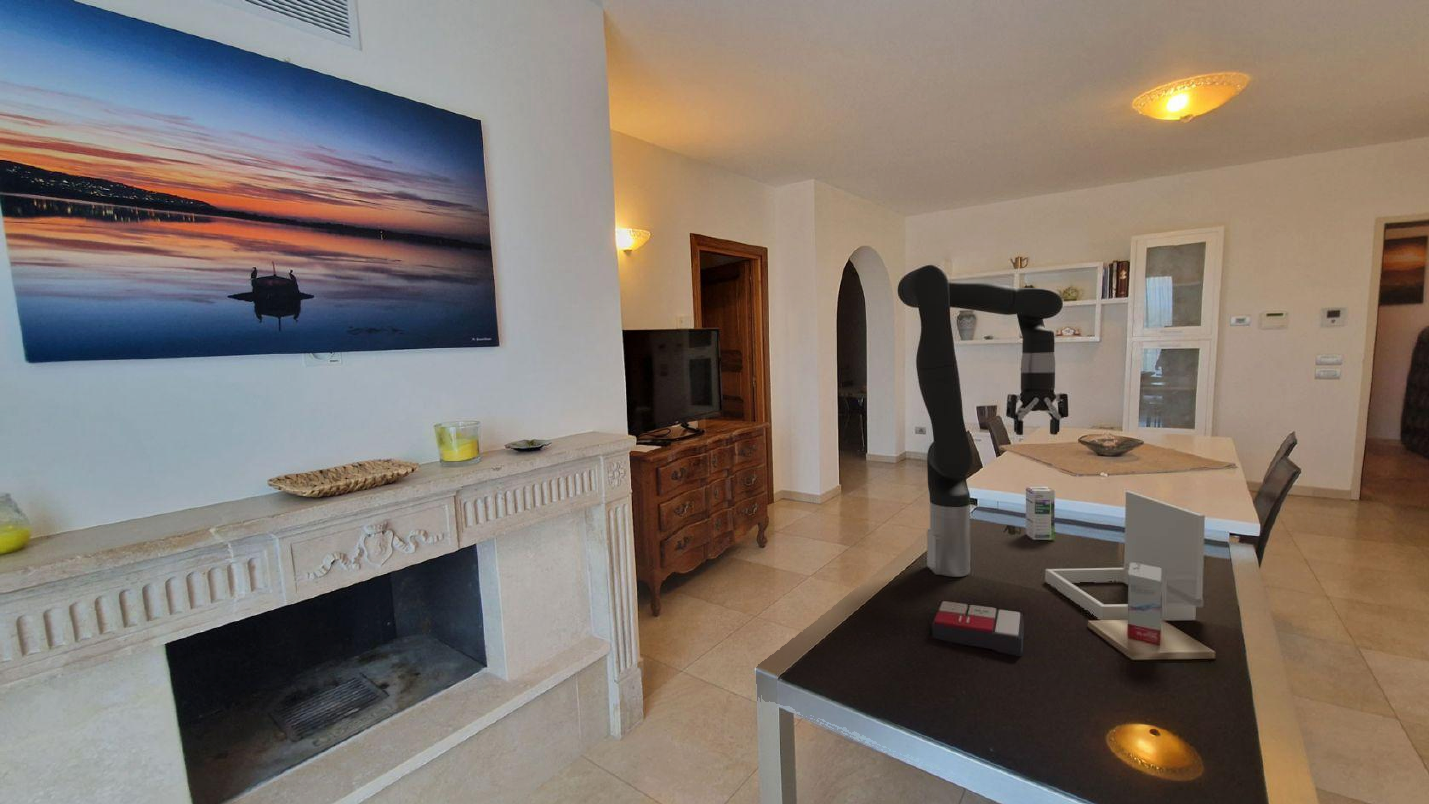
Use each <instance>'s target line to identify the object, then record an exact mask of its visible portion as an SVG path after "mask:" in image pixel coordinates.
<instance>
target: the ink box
mask: <svg viewBox="0 0 1429 804" xmlns="http://www.w3.org/2000/svg"><path fill="white" fill-rule="evenodd" d="M1127 587H1128V588H1127V604H1128V627H1127V637H1128V638H1130V639H1135V640H1139V641H1144V642H1148V643H1153V644H1157V645H1160V637H1161V613H1162V569H1161V568H1159V567H1153V566H1148V565H1143V564H1138V563H1130V565H1129V571H1128V585H1127Z"/></svg>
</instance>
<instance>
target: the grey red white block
mask: <svg viewBox="0 0 1429 804" xmlns="http://www.w3.org/2000/svg"><path fill="white" fill-rule="evenodd" d="M1024 623H1025V622H1024V614H1023V613H1021V612H1019V611H1013V610H1012V611H1011V610H1005V609H997V608H995V607H991V606H983V605H975V604H970V605H968V604H967V603H961V602H959V603H958V602H953V601H945V600H944V601H942V602H940V604H939V606H938V608H937V611H936V614H935V615H934V618H933V621H932V623H931V630H932V631H931V632H932V638H933V639H936V640H941V641H945V642H949V643H955V644H958V645H960V644H961V645H965V646H970V647H971V646H972V647H975V648H976V647H977V648H981V649H982V648H983V649H989V650H993V651H995V652H998V653H1002V654H1007V655H1012V656H1016V657H1022V656H1023V650H1024V638H1025V637H1024V636H1025V624H1024Z"/></svg>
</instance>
